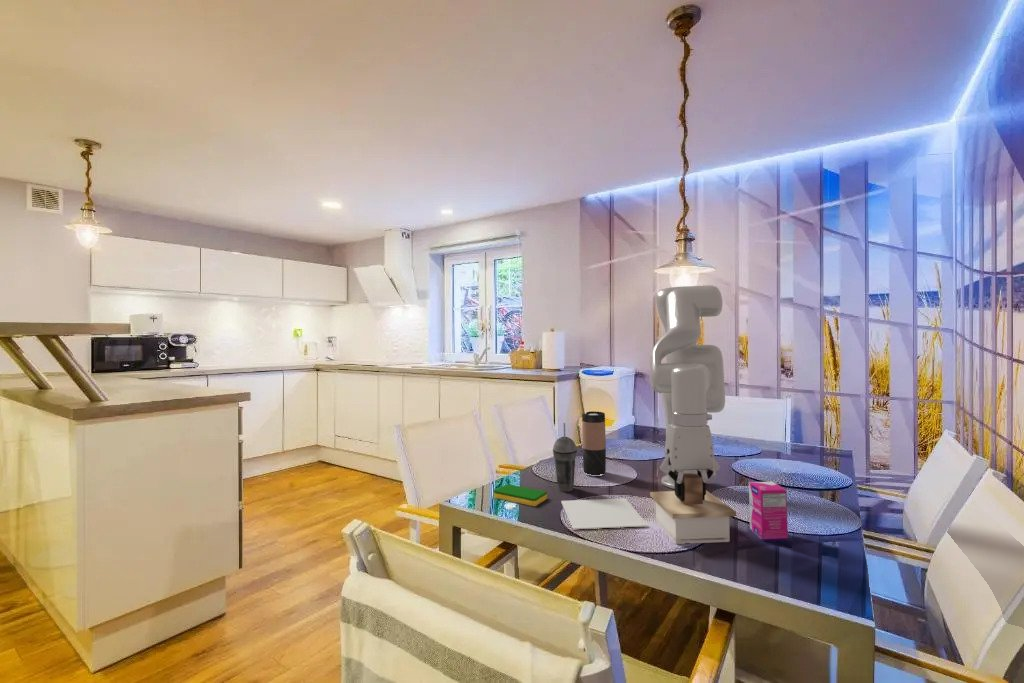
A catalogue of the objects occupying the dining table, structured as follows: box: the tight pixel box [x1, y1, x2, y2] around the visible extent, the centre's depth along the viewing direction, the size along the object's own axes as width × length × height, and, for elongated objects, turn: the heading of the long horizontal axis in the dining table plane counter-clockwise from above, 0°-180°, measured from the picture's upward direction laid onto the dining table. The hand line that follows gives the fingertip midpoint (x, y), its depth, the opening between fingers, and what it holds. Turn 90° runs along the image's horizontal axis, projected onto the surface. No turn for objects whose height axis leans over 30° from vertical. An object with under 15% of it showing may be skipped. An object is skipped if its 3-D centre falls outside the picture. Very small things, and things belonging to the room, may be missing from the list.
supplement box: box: [748, 480, 789, 542], centre depth 102 cm, size 6×6×12 cm
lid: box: [649, 473, 737, 519], centre depth 106 cm, size 14×14×7 cm
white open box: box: [655, 501, 731, 545], centre depth 106 cm, size 12×12×6 cm
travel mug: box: [581, 410, 607, 475], centre depth 151 cm, size 8×8×20 cm
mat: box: [560, 497, 649, 530], centre depth 117 cm, size 18×18×1 cm
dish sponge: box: [493, 484, 548, 507], centre depth 130 cm, size 7×14×2 cm, turn 57°
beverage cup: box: [552, 422, 578, 492], centre depth 136 cm, size 7×7×20 cm
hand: (690, 497), depth 106 cm, fingers closed on lid, 4 cm apart
